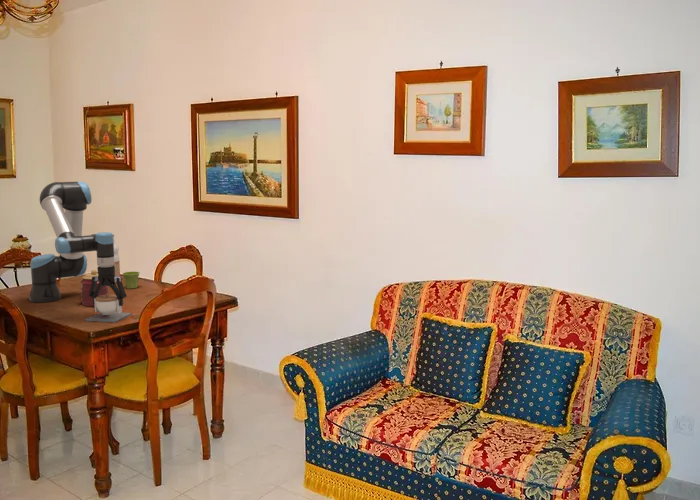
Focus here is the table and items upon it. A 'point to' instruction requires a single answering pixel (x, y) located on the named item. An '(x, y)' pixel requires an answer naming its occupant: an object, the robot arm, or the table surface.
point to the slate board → (108, 317)
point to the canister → (86, 288)
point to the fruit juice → (116, 261)
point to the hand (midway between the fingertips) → (108, 312)
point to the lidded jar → (106, 304)
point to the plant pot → (131, 279)
